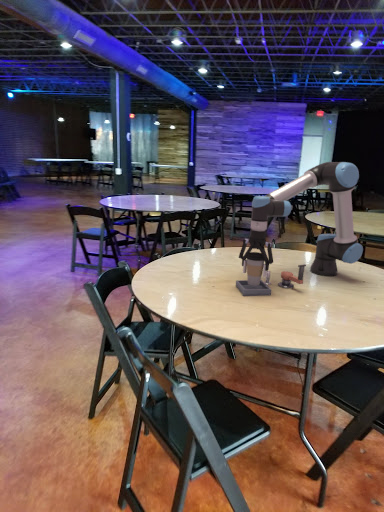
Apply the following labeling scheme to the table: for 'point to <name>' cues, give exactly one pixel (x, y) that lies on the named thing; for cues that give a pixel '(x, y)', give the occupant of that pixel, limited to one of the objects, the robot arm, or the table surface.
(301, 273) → the crank
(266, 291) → the tray
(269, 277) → the peg
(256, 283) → the coffee cup
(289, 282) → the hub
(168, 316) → the table surface
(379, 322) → the table surface
